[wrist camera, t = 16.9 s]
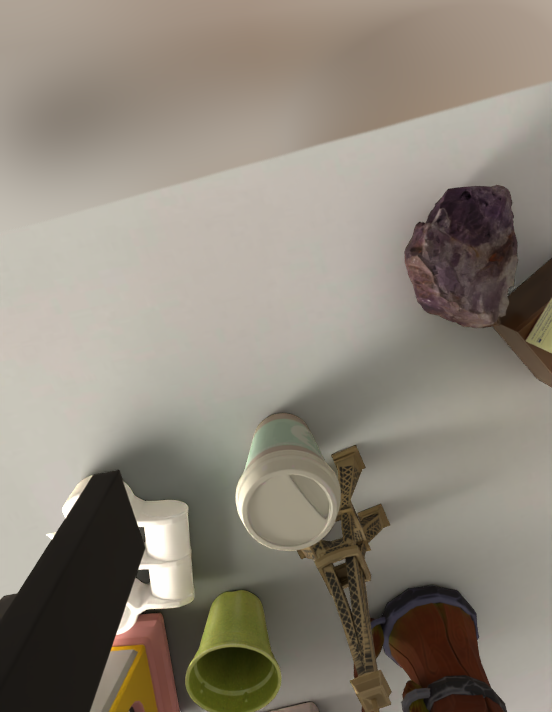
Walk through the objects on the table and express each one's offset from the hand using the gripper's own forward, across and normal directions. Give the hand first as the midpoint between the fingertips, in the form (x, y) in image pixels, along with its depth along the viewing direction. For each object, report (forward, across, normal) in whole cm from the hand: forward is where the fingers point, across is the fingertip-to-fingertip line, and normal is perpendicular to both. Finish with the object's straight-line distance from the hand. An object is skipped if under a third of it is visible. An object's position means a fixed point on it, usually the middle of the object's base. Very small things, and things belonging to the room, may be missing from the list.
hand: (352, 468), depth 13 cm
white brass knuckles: (+31, -22, -24) cm, 45 cm away
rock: (+31, +14, 0) cm, 34 cm away
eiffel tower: (+31, 0, -23) cm, 39 cm away
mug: (+31, +6, -41) cm, 52 cm away
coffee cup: (+31, -3, -15) cm, 34 cm away
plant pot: (+31, -12, -35) cm, 48 cm away
